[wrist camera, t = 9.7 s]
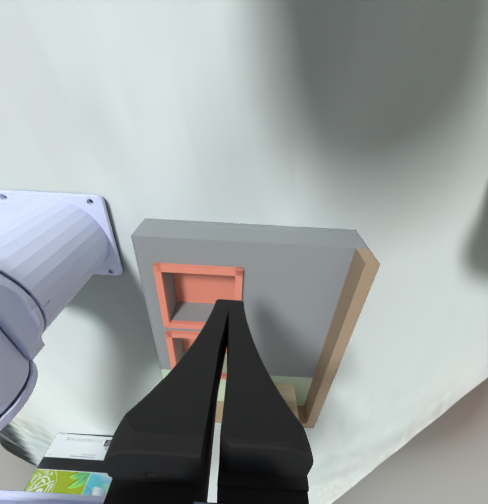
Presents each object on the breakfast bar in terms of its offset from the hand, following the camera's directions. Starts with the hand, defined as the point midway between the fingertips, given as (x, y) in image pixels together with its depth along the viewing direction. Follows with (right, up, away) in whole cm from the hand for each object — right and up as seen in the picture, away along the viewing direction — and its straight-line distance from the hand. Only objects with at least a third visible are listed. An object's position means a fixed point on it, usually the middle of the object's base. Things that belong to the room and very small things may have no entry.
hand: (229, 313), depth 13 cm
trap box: (+1, -5, +15) cm, 16 cm away
